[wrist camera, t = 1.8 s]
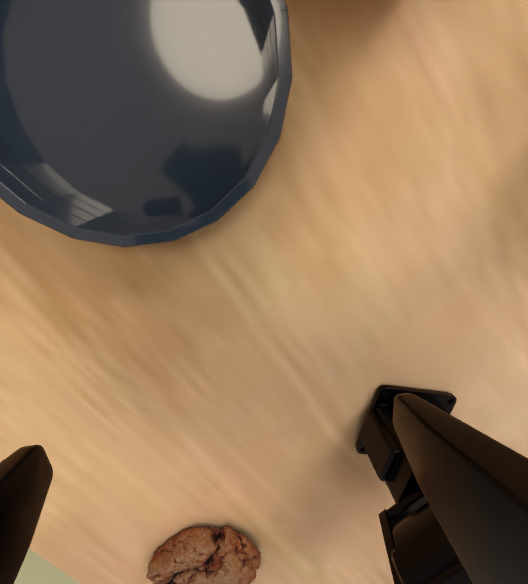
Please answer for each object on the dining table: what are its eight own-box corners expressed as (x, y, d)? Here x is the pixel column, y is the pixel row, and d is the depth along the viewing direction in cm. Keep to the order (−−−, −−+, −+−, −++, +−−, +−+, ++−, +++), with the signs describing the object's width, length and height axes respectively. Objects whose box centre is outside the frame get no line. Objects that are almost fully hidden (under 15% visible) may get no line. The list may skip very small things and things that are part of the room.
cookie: (173, 604, 33) (168, 645, 30) (135, 536, 29) (125, 577, 26) (271, 579, 33) (275, 618, 30) (246, 509, 29) (248, 546, 26)
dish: (311, -62, 15) (333, -121, 12) (249, 252, 21) (252, 269, 17) (-61, -192, 13) (-157, -309, 10) (-26, 203, 18) (-81, 212, 15)
